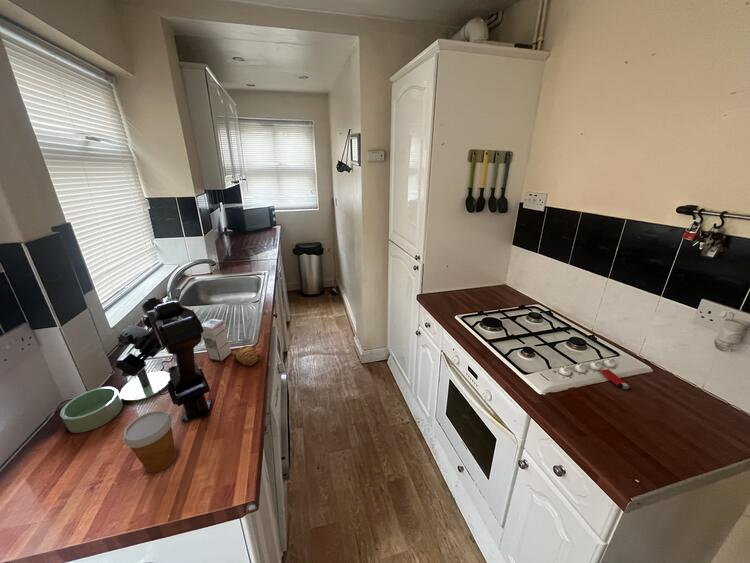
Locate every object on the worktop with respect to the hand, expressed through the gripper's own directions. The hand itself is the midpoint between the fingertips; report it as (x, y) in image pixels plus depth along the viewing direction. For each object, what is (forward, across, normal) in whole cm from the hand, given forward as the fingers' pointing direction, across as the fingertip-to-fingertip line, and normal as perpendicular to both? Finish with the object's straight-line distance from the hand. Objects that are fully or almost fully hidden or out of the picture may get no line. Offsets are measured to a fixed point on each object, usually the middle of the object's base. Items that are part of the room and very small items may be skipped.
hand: (134, 366), depth 97 cm
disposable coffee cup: (-10, +27, +22) cm, 37 cm away
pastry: (-15, -14, +27) cm, 34 cm away
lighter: (-103, +4, +115) cm, 154 cm away
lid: (+4, 0, +7) cm, 8 cm away
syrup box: (-7, -16, +19) cm, 26 cm away
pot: (+10, +11, +2) cm, 15 cm away
